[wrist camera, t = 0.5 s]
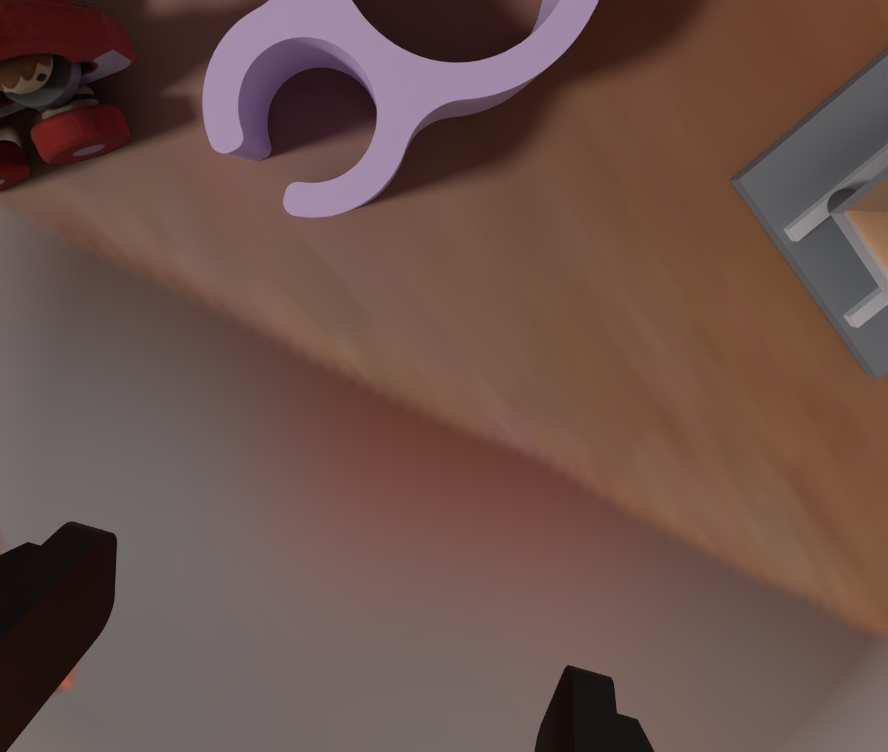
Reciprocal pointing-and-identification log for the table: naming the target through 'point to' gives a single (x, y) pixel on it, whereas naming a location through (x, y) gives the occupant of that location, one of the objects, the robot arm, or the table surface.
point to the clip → (377, 69)
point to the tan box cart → (866, 223)
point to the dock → (805, 206)
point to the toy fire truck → (59, 81)
